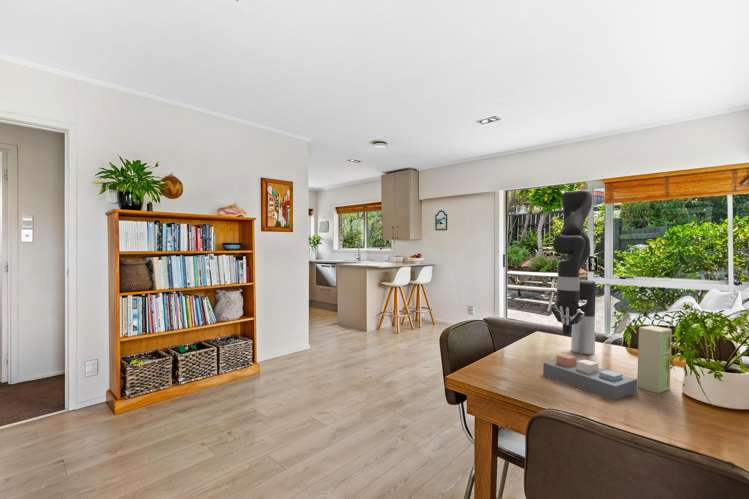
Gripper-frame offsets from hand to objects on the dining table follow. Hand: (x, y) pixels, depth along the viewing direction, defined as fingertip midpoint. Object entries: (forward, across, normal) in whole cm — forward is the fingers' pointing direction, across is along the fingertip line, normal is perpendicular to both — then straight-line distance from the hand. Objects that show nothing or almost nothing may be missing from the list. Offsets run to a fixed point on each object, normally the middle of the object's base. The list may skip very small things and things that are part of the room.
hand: (567, 334), depth 139 cm
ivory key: (+12, -8, 0) cm, 15 cm away
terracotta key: (+12, 0, 0) cm, 12 cm away
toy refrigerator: (+16, -22, -16) cm, 32 cm away
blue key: (+14, -16, 0) cm, 21 cm away
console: (+16, -8, 0) cm, 18 cm away
